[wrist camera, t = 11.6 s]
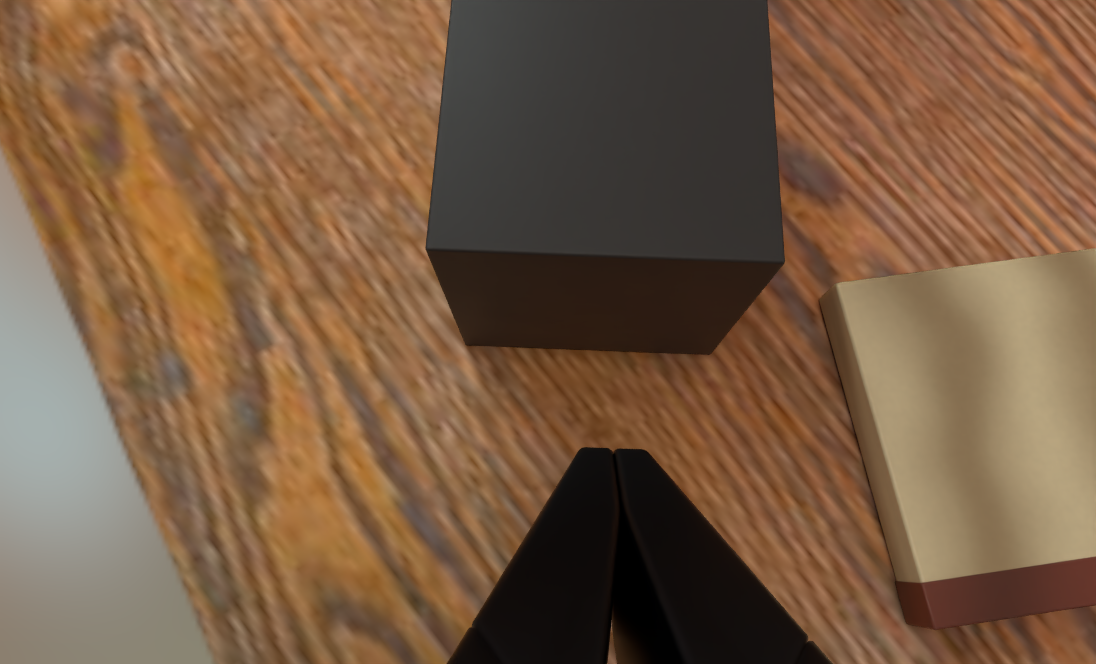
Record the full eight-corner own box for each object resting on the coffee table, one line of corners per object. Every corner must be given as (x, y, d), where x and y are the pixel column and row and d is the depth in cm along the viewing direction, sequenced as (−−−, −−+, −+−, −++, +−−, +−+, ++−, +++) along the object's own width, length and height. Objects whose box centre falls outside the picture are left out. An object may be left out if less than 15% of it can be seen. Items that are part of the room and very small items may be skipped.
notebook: (905, 624, 20) (934, 630, 18) (815, 299, 23) (834, 281, 21) (1367, 553, 20) (1431, 553, 19) (1219, 244, 23) (1264, 224, 22)
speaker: (715, 355, 22) (792, 263, 15) (464, 345, 22) (424, 250, 15) (705, 49, 26) (764, -142, 19) (489, 42, 26) (466, -150, 19)
